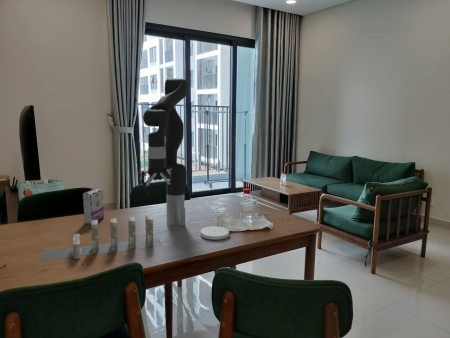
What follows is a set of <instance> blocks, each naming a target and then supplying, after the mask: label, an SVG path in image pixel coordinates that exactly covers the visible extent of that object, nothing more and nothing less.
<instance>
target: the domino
mask: <svg viewBox="0 0 450 338" xmlns="http://www.w3.org/2000/svg"><path fill="white" fill-rule="evenodd" d="M72 237H73V239H72V248H73V254H74V257H73V260H78V259H81V256H80V247H81V236H80V233H75V234H73V236H72Z"/></svg>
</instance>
